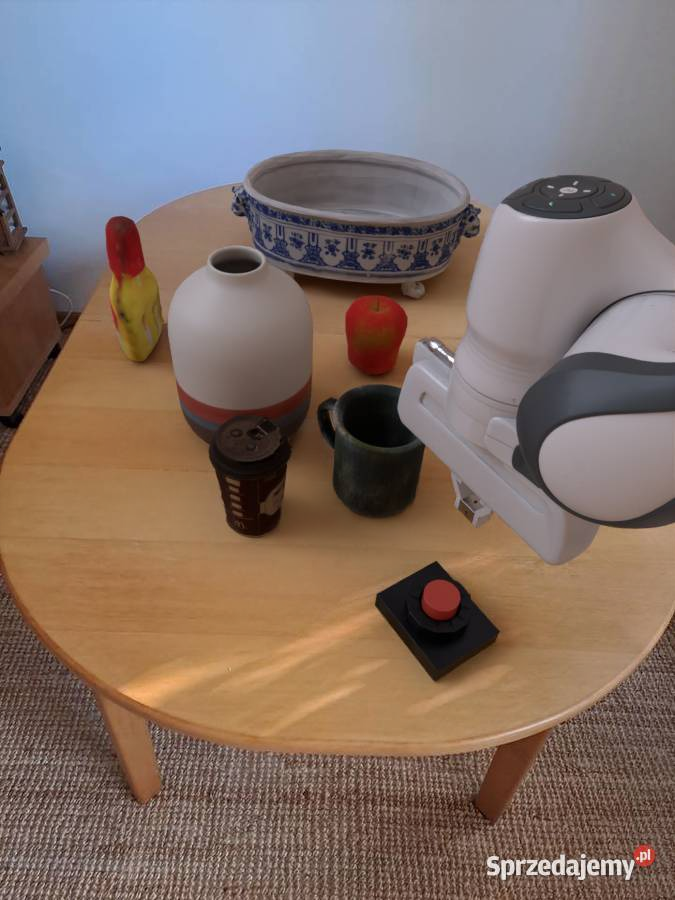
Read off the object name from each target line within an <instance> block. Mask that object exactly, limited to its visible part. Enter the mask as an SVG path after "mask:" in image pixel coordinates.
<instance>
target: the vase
mask: <svg viewBox="0 0 675 900" xmlns="http://www.w3.org/2000/svg"><path fill="white" fill-rule="evenodd" d="M280 269H281V268H278V267H276V266H274V265H271V264H270V263H268V262H267V261H266V258H265V256H264V254H263V253H262V252H260V251H259V250H257V249H255V248H254V247H252V246H248V245H240V244H239V245H237V244H236V245H228V246H224V247H220V248H217V249H216V250H214V251H212V252H211V253H210V254H209V255H208V257H207V260H206V265H204V266H202V267H200V268H198V269H197V270H195V271H193V273H191V274H190V275H188V276H187V277H186V278H185V279H184V280H183V281H182V282H181V284H179V286H178V287H177V289H176V291H175V292H174V294H173V296H172V299H171V302H170V305H169V309H168V312H167V313H168V315H167V334H168V335H167V336H168V343H169V348H170V356H171V360H172V366H173V374H174V377H175V384H176V390H177V395H178V400H179V406H180V408H181V411H182V412H181V413H182V415H183V417H184V419H185V421H186V422H187V425H188V426H189V427H190V429H191V430H192V432H194V434H195V435H196V436H197V437H199V439H201V440H202V441H203V442H205V443H207V444H208V445H210V442H211V439H212V438H213V436H214V435H215V433H216V430H217V429H218V428H219V426H220V425H221V424H222V423H224V422H225V421H226V420H228V419H229V418H231V417H233V416H235V415H244V414H246V415H253V416H267V417H269V419H273V420H275V421H276V422H277V427H279V428H280V431H281V434H283V435H284V436H287V437H288V440H289V439H291V438H292V437H293V436H294V435H295V434H296V433H297V432H298V431H299V430H300V428H301V427H302V426H303V423H304V422H305V420H306V418H307V416H308V413H309V410H310V408H311V407H310V406H311V400H312V391H313V389H312V388H313V362H314V360H313V359H314V357H313V356H314V322H313V321H314V320H313V314H312V309H311V306H310V302H309V301H308V298H307V295H306V294H305V291H304V290H303V289H302V288H301V286H300V284H299V283H298V282H297V281H296V280H295V278H294V279H293V278H291V277H290V276H289V275H288V274H286V273H285V272H283V271H282V270H280Z"/></svg>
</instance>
